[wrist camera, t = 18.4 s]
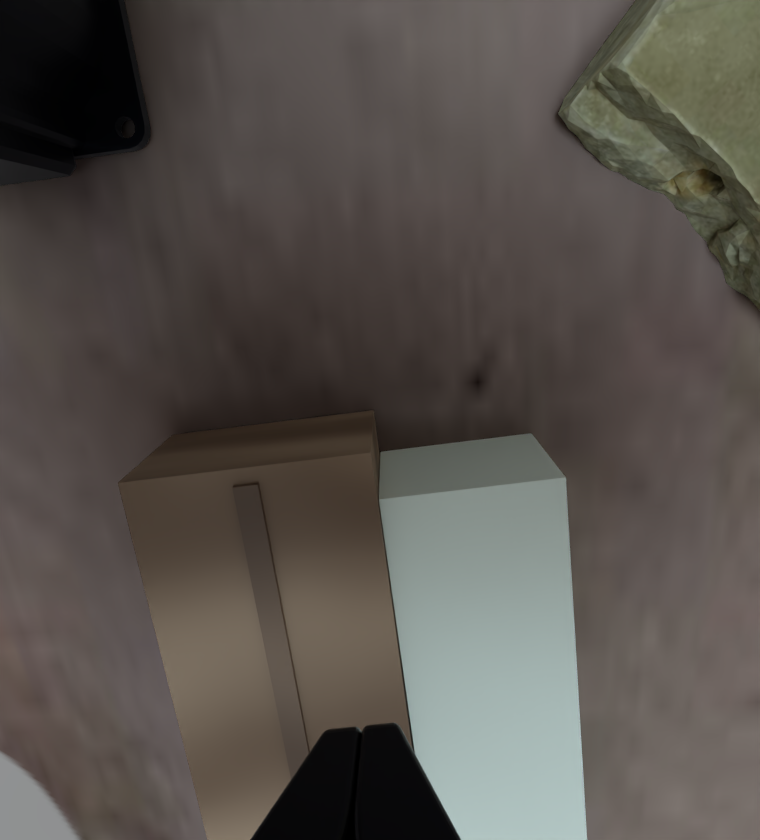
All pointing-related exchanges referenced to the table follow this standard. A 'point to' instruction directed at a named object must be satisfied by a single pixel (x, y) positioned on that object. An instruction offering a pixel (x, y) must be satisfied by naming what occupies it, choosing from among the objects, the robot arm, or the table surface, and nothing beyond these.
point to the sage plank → (488, 632)
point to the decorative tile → (684, 118)
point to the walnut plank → (267, 600)
